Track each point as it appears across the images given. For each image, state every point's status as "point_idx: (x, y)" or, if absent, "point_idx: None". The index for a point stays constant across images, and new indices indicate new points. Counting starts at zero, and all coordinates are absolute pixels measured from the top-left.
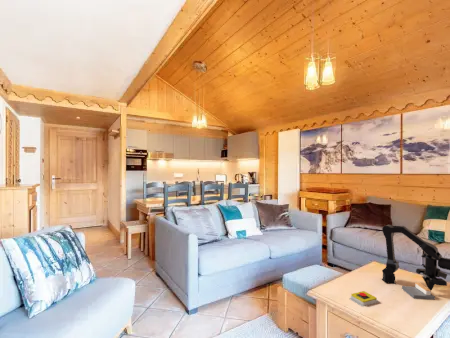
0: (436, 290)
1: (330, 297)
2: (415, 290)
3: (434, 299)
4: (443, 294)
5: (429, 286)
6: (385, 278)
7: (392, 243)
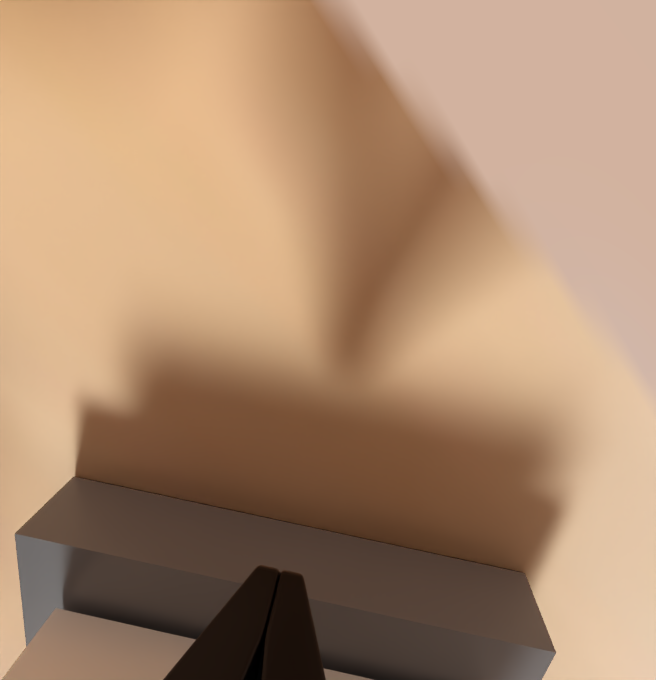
0: (12, 26)
1: None
2: None
3: (526, 586)
4: (283, 37)
5: None
6: None
7: None
